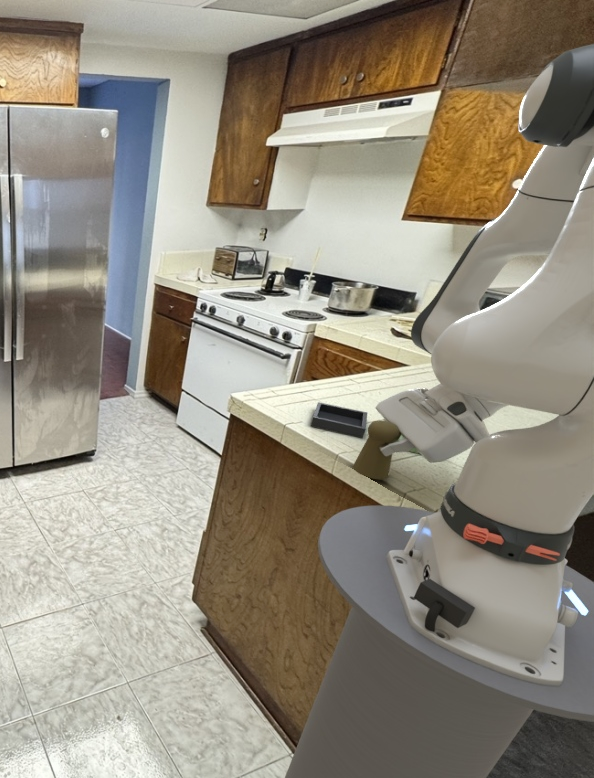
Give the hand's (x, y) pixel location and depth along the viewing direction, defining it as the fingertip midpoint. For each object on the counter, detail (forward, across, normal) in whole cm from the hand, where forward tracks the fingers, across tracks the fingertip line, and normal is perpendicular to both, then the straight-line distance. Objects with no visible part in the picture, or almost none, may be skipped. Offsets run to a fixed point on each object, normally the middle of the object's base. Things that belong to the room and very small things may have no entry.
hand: (375, 445), depth 94 cm
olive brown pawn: (+4, 0, +5) cm, 6 cm away
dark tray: (+3, -23, +6) cm, 24 cm away
